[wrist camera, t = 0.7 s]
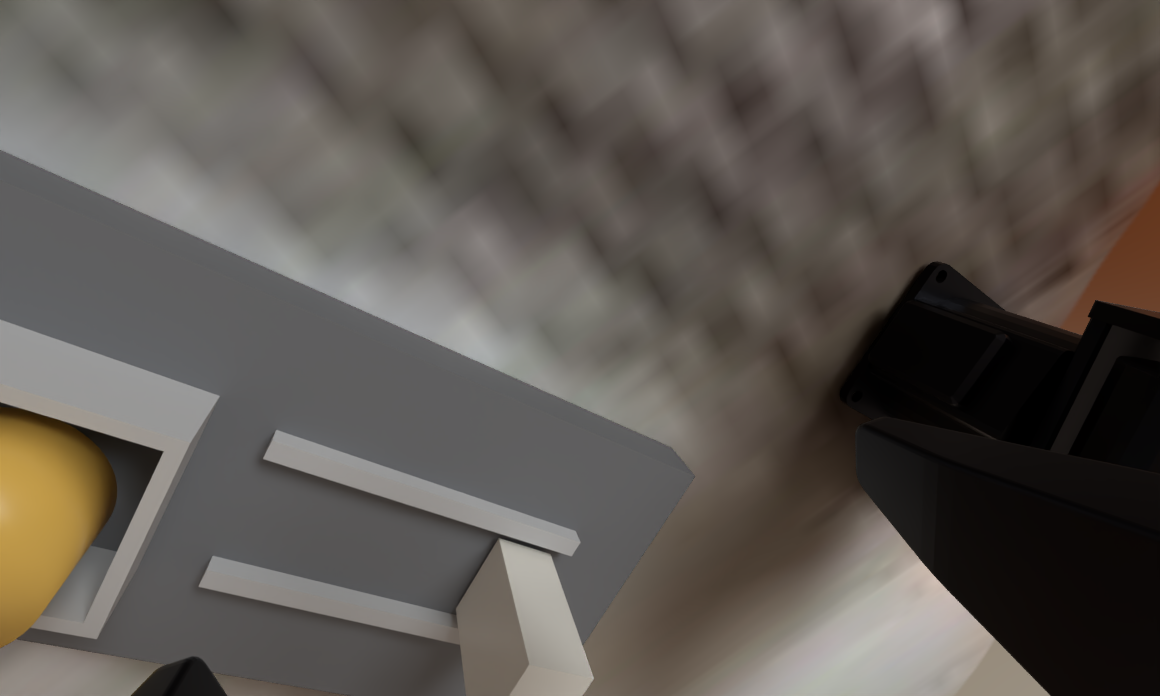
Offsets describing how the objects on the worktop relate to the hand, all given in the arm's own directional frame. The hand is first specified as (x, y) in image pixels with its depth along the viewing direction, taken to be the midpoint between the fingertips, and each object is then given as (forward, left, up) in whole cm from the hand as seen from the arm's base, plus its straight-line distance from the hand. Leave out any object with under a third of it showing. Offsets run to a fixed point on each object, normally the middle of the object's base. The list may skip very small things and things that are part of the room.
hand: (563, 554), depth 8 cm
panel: (+4, +8, -12) cm, 15 cm away
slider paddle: (-5, +8, -10) cm, 13 cm away
